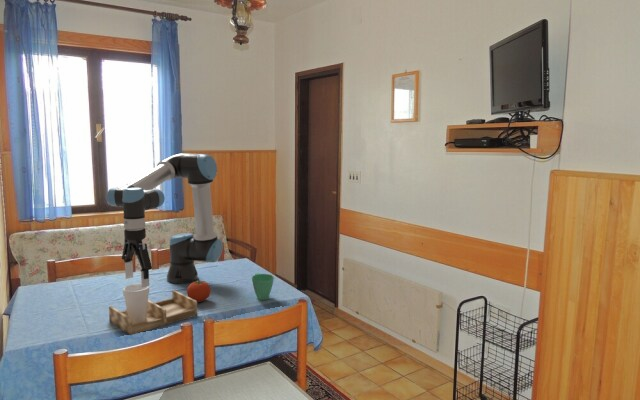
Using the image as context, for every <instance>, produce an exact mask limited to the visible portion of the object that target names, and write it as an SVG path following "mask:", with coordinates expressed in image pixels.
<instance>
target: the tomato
mask: <svg viewBox="0 0 640 400" xmlns="http://www.w3.org/2000/svg"><path fill="white" fill-rule="evenodd" d="M211 289H212V288H211V287H210V284H209V283H208V282H207V281H205V280H200V279H197V280H195V281H192V282H190V284H189V285H188V286H187V289H186V296H188V297H190V298H192V299H194V300H196V301H197V303H200V302H204V301H206V300H207V299H208V298H210V295H211V293H212V292H211V291H212V290H211Z"/></svg>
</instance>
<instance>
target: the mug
mask: <svg viewBox="0 0 640 400" xmlns="http://www.w3.org/2000/svg"><path fill="white" fill-rule="evenodd" d="M274 280H275V277H274V275H272V274H269V273H260V272H257V273H255V275H252V277H251V281H252V285H253V290H254V294H255V296H256V298H257V299H256V300H259V301H267V300H268V299H269V297H270V294H271V292H272V288H273V284H274Z"/></svg>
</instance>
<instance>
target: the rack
mask: <svg viewBox="0 0 640 400" xmlns="http://www.w3.org/2000/svg"><path fill="white" fill-rule="evenodd" d="M171 292H172V295H171V296H172V298H171V297H170V298H167V299H164V300H159V301H156V302H153V301H152V300H150V299H148V306H147V317H146V320H145V321H142V322H138V323H132V319H131V318H130V317H128V313H127V309H125V310H119V309H117V308H116V307H114V306H113V305H109V306H108V314H109V315H108V316H109V319H108V320H109V322H110V323H112V324H113V325H115V326H116V327H117V328H119V329H121V331H123V332H124V333H126V334H128V336H133V335H135V334H140V333H143V332H146V331H149V330H153V329H155V328H159V327H162V326H166V325H169V324H172V323H174V322H175V323H176V322H178V321H183V320H185V319H189V318H192V317H196V316H198V302H197V301H196V300H194V299H192V298H190V297H188V295H187V294H186V295H185V294H183V293H182V292H179V291H177V290H175V289H174V290H172V291H171Z"/></svg>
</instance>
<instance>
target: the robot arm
mask: <svg viewBox="0 0 640 400" xmlns="http://www.w3.org/2000/svg"><path fill="white" fill-rule="evenodd" d="M156 164H157V165H156V166H155V167H154V168H152V169H150V170H148V171H147V172H145V173H144V174H141V175H140V176H139V177H137V178H135V179H134V180H132V181H130V182H129V183H127V184H125V185H123V186H121V187H111V188H109V189H108V191H107V192H106V196H105V197H106V198H105V199H106V202H107V204H108V205H110V206H112V207H117V208H122V210H123V221H122V223H123V228H124V231H123V232H124V245H123V249H122V254H121V259H122V260H123V261H124V271H125V273H124V274H125V280H127V279H133V278H134V268H133V265H134V264H133V261H134V259H133V257H134V255H135V256H136V257H137V260H138V262H139V265H140V267H141V268H140V280H141V282H140V284H141V285H142V288H143V287H147V286H149V287H150V270H152V269H153V267H152V262H151V258H150V254H149V250H148V244H147V243H143V240H144V239H146V236H147V235H146V213H145V211H149V210H153V209H157V208H160V207H162V205H164V203H165V198H166V197H165V193H163V191H162V190H160V189H158V188H157V187H159V186H160V185H162V184H163V183H165V182H166V181H172V180H173V179H179V178H180V179H187V184H188V185H189V186H190V187H191V193H192V195H191V196H192V203H193V205H192V206H193V216H194V226H195V234H194V233H192V232H187V233H186V232H185V233H178V234H175V235H172V236H171V237H170V238H169V268H168V271H167V273H166V274H167V275H166V280H167V282H169V283H171V284H188V283H193V282H195V281H198V280H199V279H198V277H199V275H198V271H197V268H196V265H195V262H202V263H216V262H218V260H219V259H220V257H221V255H222V253H223V249H224V243H223V240H221V239H220V238H219V237H218V233H217V232H215V228H214V217H213V215H214V214H213V207H212V205H213V203H212V202H213V201H212V191H211V185H212V184H213V183H214V179H215V178H217V177H216V176H217V173H218V166H217V162H216V159H215V158H214V157H213V156H212V155H210V154H205V153H184V152H183V153H178V154H174V155H173V154H172V155H171V156H168V157H167V158H163V160H161V161H159V162H158V163H156Z"/></svg>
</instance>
